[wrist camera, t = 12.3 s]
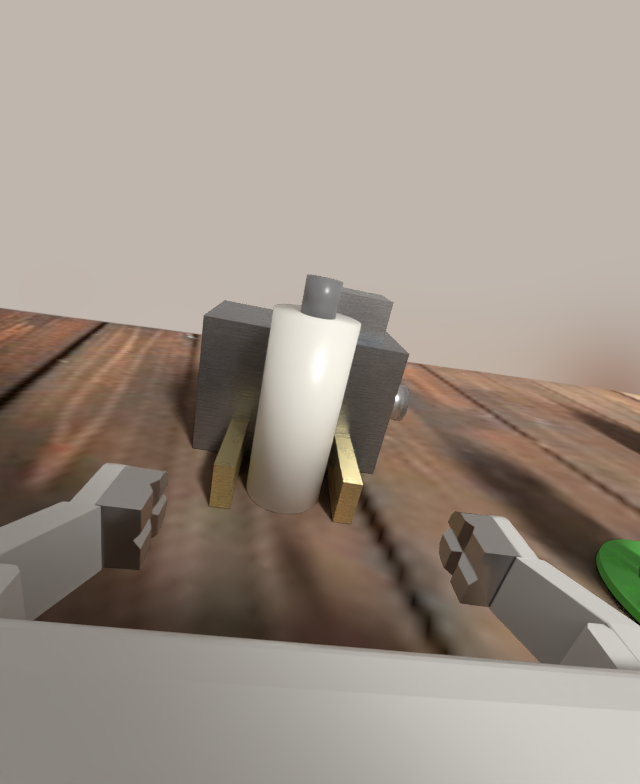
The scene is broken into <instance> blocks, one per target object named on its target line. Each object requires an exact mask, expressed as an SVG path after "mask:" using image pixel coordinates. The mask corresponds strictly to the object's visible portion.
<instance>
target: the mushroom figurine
mask: <svg viewBox="0 0 640 784" xmlns="http://www.w3.org/2000/svg"><path fill="white" fill-rule="evenodd" d="M596 564H597V568H598V571H599V573H600V575H601V577H602V579H603V581H604V582H605V584H606V585H607V587H608V588H609V590H610V591H611V593H612V594H613V595H614V596H615V598H616V599H617V600H618V601H619V602H620V603H621V605H622V606H623V607H624V608H625V609H626V610H627V611H628V612H629V613H630V614H631V615H632V616H633V617H634V618H635V619H636V620H637V621H638V622H639V623H640V542H637V541H632V540H623V539H616V540H610V541H607V542H606V543H604V544H603V545H602V546H601V548H600V549H599V551H598V553H597V556H596Z"/></svg>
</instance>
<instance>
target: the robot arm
mask: <svg viewBox="0 0 640 784" xmlns="http://www.w3.org/2000/svg"><path fill="white" fill-rule="evenodd" d="M167 485H168V473H167V471H160V470H154V469H148V468H142V467H135V466H127V465H122V464H115V463H106V464H104V465H103V466H102V467H101V468H100V469H99V470H98V471H97V472H96V473H95V474H94V475H93V477H92V478H91V479H90V480H89V481H88V482H87V483H86V484H85V485H84V486H83V488H82V489H81V490H80V491H79V492H78V493H77V494H76V495H75V496H74V497H73V499H72V500H71V501H70V502H64V501H62V502H60V503H58V504H55V505H53V506H50V507H48V508H45V509H43V510H41V511H38V512H36V513H33V514H31V515H29V516H26V517H24V518H21V519H19V520H16V521H14V522H12V523H9V524H7V525H4V526H2V527H0V784H640V626H639V625H638V624H636V623H635V622H633V621H632V620H631V619H629V618H628V617H626V616H625V615H623V614H622V613H620V612H619V611H617V610H616V609H614V608H613V607H612V606H610V605H609V604H607V603H606V602H604V601H603V600H601V599H600V598H598V597H597V596H595V595H594V594H592V593H591V592H590V591H588V590H587V589H585V588H584V587H582V586H581V585H579V584H578V583H576V582H575V581H573V580H572V579H571V578H569V577H568V576H566V575H565V574H563V573H562V572H560V571H559V570H557V569H556V568H554V567H553V566H551V565H550V564H549V563H547V562H546V561H544V560H539V559H538V558H537V556H536V555H535V554H534V552H533V551H532V550H531V549H530V547H529V546H528V545H527V543H526V542H525V541H524V539H523V538H522V537H521V536H520V534H519V533H518V532H517V530H516V529H515V528H514V527H513V525H512V524H511V523H510V521H509V520H508V519H506V518H504V517H501V516H491V515H487V516H486V515H478V514H471V513H463V512H456V511H455V512H454V513H453V514H452V515H451V517H450V519H449V521H448V523H449V526H450V529H449V530H448V531H447V532H445V533H444V534H443V536H442V538H441V541H440V548H439V554H440V559H441V562H442V564H443V567H444V568H445V569H446V570H447V571H448V572H449V573H450V574H451V575H452V578H451V581H450V582H451V584H452V587H453V589H454V591H455V593H456V595H457V598H458V600H459V602H460V603H462V604H469V605H477V606H484V607H490V608H489V609H490V610H491V611H492V612H493V613H494V614H495V615H496V616H497V618H498V619H499V620H500V621H501V622H502V623H503V624H504V625H505V626H506V627H507V628H508V629H509V630H510V631H511V632H512V633H513V634H514V636H515V637H516V638H517V639H518V640H519V641H520V642H521V643H522V644H523V645H524V646H525V647H526V648H527V649H528V650H529V651H530V652H531V653H532V655H533V656H534V657H535V658H536V659H537V660H538V661H539V662H540V663H535V662H523V661H511V660H498V659H487V658H475V657H463V656H451V655H439V654H428V653H416V652H404V651H392V650H380V649H368V648H356V647H344V646H332V645H320V644H308V643H296V642H284V641H272V640H259V639H247V638H235V637H223V636H211V635H199V634H187V633H175V632H163V631H151V630H139V629H127V628H115V627H103V626H91V625H79V624H67V623H55V622H43V621H33V620H34V619H36V618H37V617H38V616H40V615H41V614H42V613H44V612H45V611H46V610H48V609H49V608H50V607H52V606H53V605H54V604H56V603H57V602H59V601H60V600H61V599H63V598H64V597H65V596H67V595H68V594H69V593H71V592H72V591H73V590H75V589H76V588H77V587H79V586H80V585H81V584H83V583H84V582H85V581H87V580H88V579H90V578H91V577H92V576H94V575H95V574H96V573H98V572H99V571H100V570H102V567H104V568H118V569H131V570H140V568H141V566H142V564H143V562H144V560H145V558H146V556H147V554H148V552H149V550H150V548H151V538H153V537H154V536H156V535H157V534H158V532H159V530H160V528H161V525H162V522H163V519H164V516H165V511H166V505H167V498H166V496H165V495H164V494H163V493H164V491H165V489H166V487H167Z"/></svg>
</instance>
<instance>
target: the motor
mask: <svg viewBox="0 0 640 784" xmlns="http://www.w3.org/2000/svg"><path fill="white" fill-rule="evenodd" d="M392 306H393V302H392V301H390V300H388V299H386V298H385V297H383V296H381V295H377V294H372V293H367V292H363V291H357V290H353V289H348V288H343V287H342V290H341V295H340V300H339V304H338V309H337V313H339V314H342V315H345V316H348V317H350V318H353V319H355V320H357V321H359V322H360V323H361V328H360V332H359V336H358V340H357V344H356V348H355V352H354V356H353V360H352V364H351V369H350V373H349V377H348V381H347V385H346V389H345V393H344V397H343V401H342V405H341V409H340V413H339V417H338V421H337V425H336V430H335V434H334V438H333V442H332V446H331V450H330V454H329V458H328V462H327V466H326V470H327V479H328V487H329V495H330V503H331V512H332V520H333V522H340V523H348V524H351V523H352V520H353V516H354V513H355V510H356V506H357V503H358V500H359V496H360V493H361V489H362V486H363V484H362V480H361V476H360V472H364V473H371V474H373V471H374V468H375V465H376V462H377V458H378V455H379V452H380V449H381V445H382V442H383V439H384V435H385V432H386V429H387V426H388V422H389V419H391V420H397V421H400V420H402V419H403V417H404V416H405V414H406V411H407V407H408V402H409V392H408V388H407V387H406V386H404V385H400V383H401V380H402V376H403V373H404V370H405V366H406V363H407V360H408V357H409V354H408V353H407V352H406V351H405V350H404V349H403V348H402V347H401V346H400V345H399V344H398V343H397V342H396V341H395V340H394V339H393V338H392V337H391V336H390V335H389V334H388V333H387V332H386V328H387V324H388V320H389V317H390V313H391V309H392ZM272 315H273V310H271V309H266V308H261V307H256V306H250V305H245V304H240V303H235V302H230V301H223V302H222V303H220V304H219V305H218V306H216V307H215V308H213V309H212V310H211V311H209V312H208V313H206V314H205V315H204V320H203V331H202V343H201V354H200V366H199V378H198V390H197V402H196V414H195V425H194V437H193V448H197V449H204V450H210V451H217V452H219V453H218V455H217V458H216V460H215V463H214V469H213V478H212V487H211V495H210V504H209V506H211V507H219V508H227V509H230V505H231V501H232V498H233V494H234V490H235V486H236V483H237V479H238V475H239V471H240V468H241V464H242V460H243V456H244V455H245V456H251V452H252V446H253V439H254V433H255V426H256V420H257V413H258V407H259V400H260V393H261V387H262V380H263V374H264V367H265V361H266V354H267V348H268V341H269V335H270V328H271V322H272Z"/></svg>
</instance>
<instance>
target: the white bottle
mask: <svg viewBox="0 0 640 784" xmlns="http://www.w3.org/2000/svg"><path fill="white" fill-rule="evenodd" d="M342 286H343V282H341V281H338V280H334V279H330V278H326V277H321V276H316V275H307V279H306V285H305V290H304V296H303V301H302V305H291V304H278V305H275V306H274V309H273V315H272V322H271V328H270V335H269V341H268V348H267V354H266V361H265V367H264V374H263V380H262V387H261V393H260V400H259V407H258V413H257V420H256V426H255V433H254V439H253V446H252V452H251V459H250V465H249V472H248V478H247V485H246V489H247V493H248V495H249V497H250V498H251V499H252V500H253V501H254V502H255V503H256V504H257V505H259V506H260V507H262V508H264V509H266V510H269V511H272V512H275V513H280V514H297V513H301V512H304V511H307V510H309V509H310V508H312V507H313V506H314V505H315V504H316V503H317V501H318V499H319V495H320V490H321V486H322V482H323V478H324V474H325V470H326V466H327V462H328V458H329V454H330V450H331V446H332V442H333V438H334V434H335V430H336V425H337V421H338V417H339V413H340V409H341V405H342V401H343V397H344V393H345V389H346V385H347V381H348V377H349V373H350V369H351V364H352V360H353V356H354V352H355V348H356V344H357V340H358V336H359V332H360V328H361V323H360V322H359V321H357V320H355V319H353V318H350V317H348V316H345V315H342V314H339V313H337V309H338V304H339V300H340V295H341V290H342Z"/></svg>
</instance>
